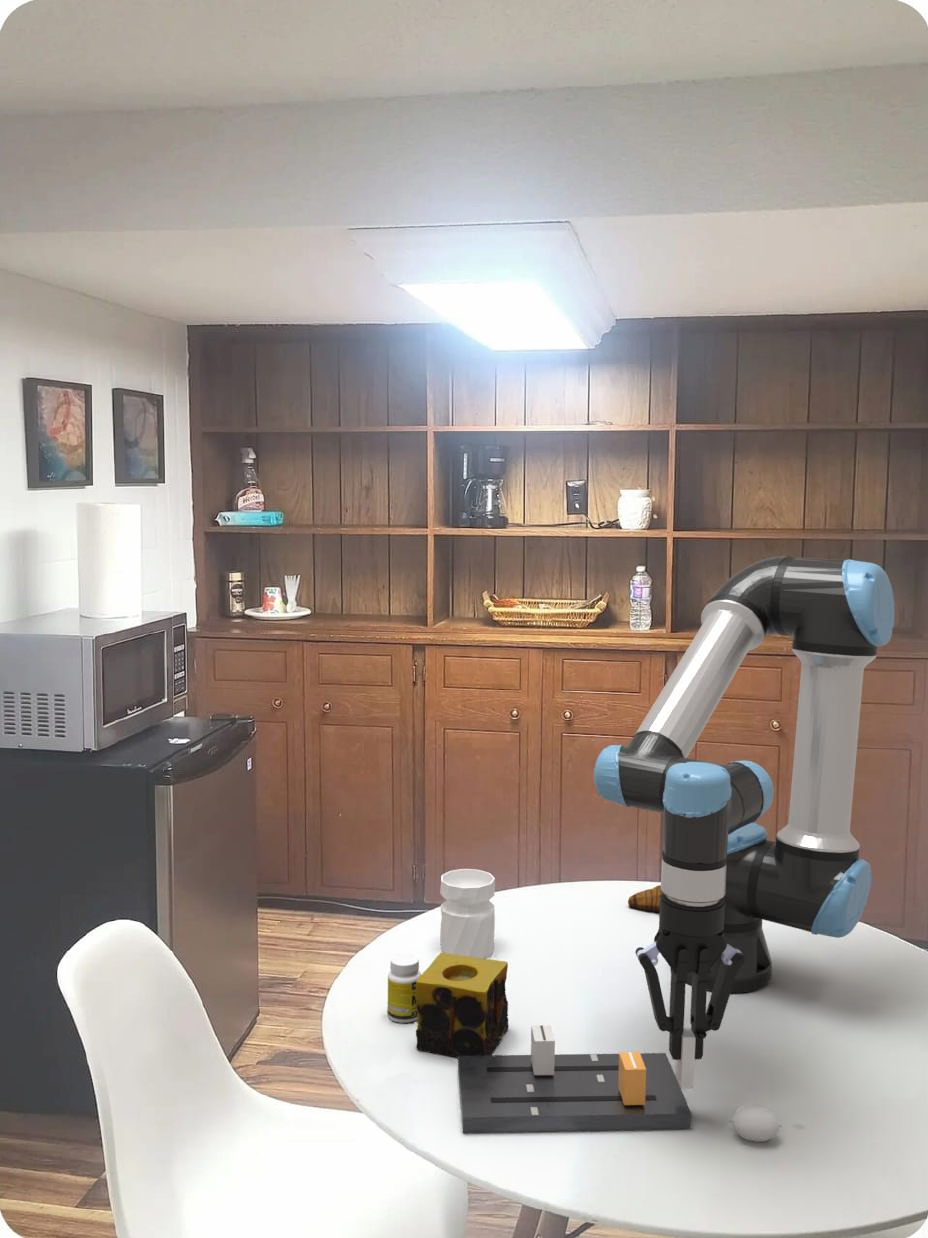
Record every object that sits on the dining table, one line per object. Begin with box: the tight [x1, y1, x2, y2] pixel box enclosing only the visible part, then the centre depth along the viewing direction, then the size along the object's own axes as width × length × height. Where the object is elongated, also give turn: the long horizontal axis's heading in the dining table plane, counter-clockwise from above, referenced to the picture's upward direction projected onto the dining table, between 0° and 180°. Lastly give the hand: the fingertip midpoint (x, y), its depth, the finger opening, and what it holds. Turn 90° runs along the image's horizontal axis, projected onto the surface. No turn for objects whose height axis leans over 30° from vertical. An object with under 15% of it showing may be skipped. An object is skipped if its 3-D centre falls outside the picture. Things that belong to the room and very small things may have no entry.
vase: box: [439, 868, 496, 959], centre depth 184 cm, size 9×9×12 cm
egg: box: [728, 1105, 782, 1143], centre depth 134 cm, size 4×6×4 cm, turn 80°
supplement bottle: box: [387, 953, 422, 1024], centre depth 162 cm, size 5×5×8 cm
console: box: [457, 1052, 693, 1134], centre depth 142 cm, size 27×14×2 cm, turn 93°
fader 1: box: [530, 1024, 556, 1075], centre depth 145 cm, size 2×4×5 cm, turn 3°
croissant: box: [627, 884, 663, 913], centre depth 202 cm, size 14×7×5 cm, turn 83°
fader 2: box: [618, 1051, 646, 1105], centre depth 138 cm, size 2×4×5 cm, turn 2°
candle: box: [415, 952, 510, 1058], centre depth 155 cm, size 10×10×10 cm
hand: (684, 1082), depth 138 cm, fingers closed
